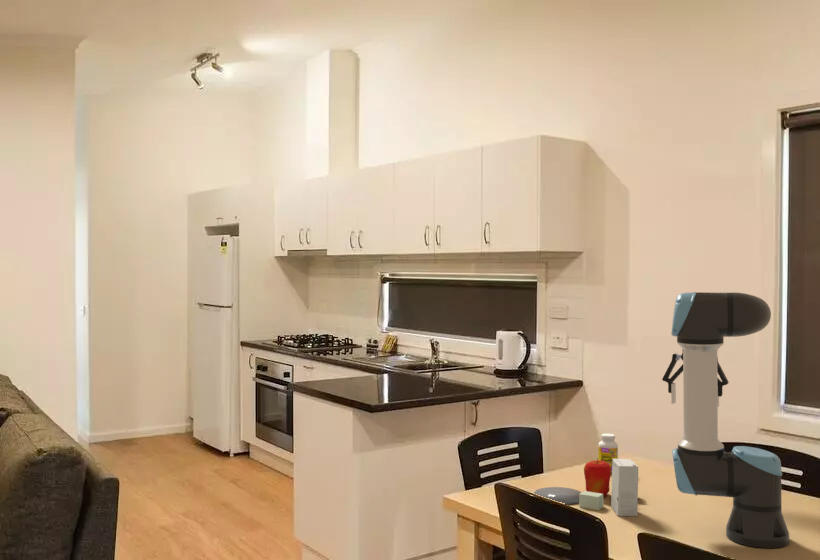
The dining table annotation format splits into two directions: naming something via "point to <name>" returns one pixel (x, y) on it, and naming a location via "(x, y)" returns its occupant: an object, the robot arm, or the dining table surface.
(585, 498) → the sage block
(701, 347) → the robot arm
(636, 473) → the skincare box
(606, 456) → the supplement bottle
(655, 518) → the dining table surface
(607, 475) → the red bell pepper
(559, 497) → the plate
